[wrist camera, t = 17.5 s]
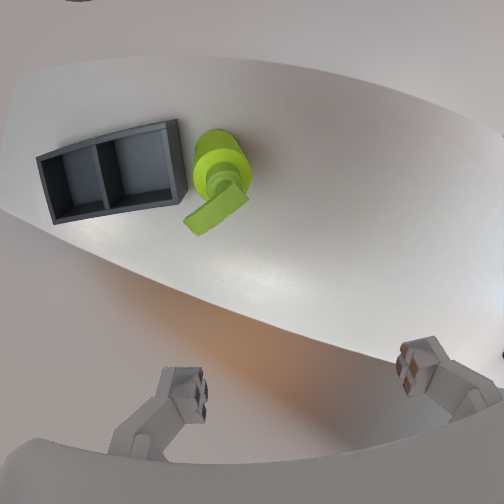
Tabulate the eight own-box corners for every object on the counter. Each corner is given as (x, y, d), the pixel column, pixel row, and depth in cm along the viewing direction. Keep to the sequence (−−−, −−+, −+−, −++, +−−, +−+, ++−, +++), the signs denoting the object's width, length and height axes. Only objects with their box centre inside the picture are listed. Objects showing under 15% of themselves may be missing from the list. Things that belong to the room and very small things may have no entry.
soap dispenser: (180, 152, 41) (165, 206, 24) (220, 120, 39) (235, 151, 22) (207, 182, 43) (212, 255, 26) (246, 153, 42) (279, 207, 25)
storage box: (58, 148, 40) (35, 157, 34) (176, 119, 39) (165, 122, 34) (73, 209, 45) (53, 225, 39) (188, 190, 44) (179, 204, 38)
